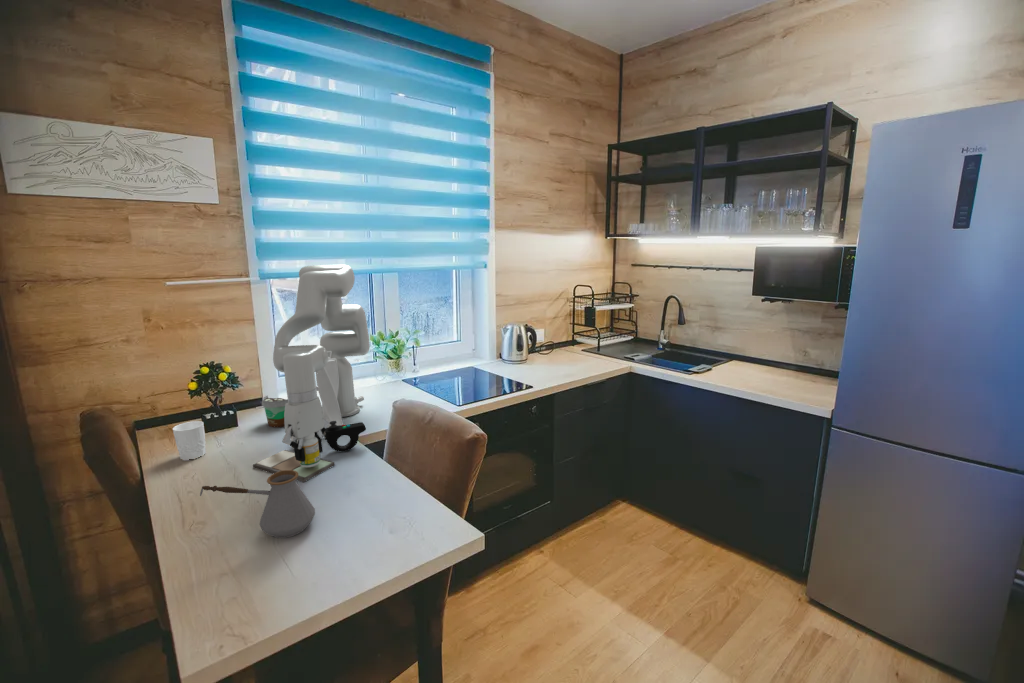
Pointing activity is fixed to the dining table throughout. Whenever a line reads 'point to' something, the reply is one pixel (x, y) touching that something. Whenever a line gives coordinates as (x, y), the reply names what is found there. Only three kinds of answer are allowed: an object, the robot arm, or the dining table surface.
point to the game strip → (292, 465)
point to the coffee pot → (280, 504)
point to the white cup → (190, 439)
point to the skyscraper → (329, 391)
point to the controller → (342, 430)
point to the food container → (274, 411)
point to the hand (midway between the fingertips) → (309, 455)
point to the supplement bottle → (310, 451)
